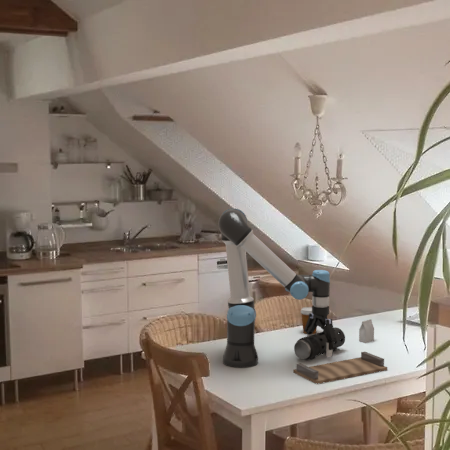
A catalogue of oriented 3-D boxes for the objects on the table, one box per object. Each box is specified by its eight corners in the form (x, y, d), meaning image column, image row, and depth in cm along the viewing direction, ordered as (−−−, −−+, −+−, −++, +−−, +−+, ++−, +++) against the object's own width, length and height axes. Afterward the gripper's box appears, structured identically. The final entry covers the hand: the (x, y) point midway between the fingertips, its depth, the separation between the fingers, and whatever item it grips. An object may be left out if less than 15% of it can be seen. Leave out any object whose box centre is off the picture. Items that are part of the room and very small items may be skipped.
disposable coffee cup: (297, 334, 339) (298, 310, 337) (302, 329, 347) (303, 306, 346) (316, 335, 335) (317, 311, 334) (321, 331, 344) (321, 307, 343)
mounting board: (317, 384, 266) (317, 373, 265) (293, 372, 280) (293, 362, 279) (387, 370, 283) (387, 360, 283) (361, 359, 297) (361, 350, 297)
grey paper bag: (373, 340, 328) (374, 320, 327) (365, 343, 323) (366, 322, 322) (367, 338, 331) (367, 318, 330) (359, 341, 326) (359, 320, 325)
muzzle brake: (345, 351, 311) (346, 328, 310) (310, 365, 290) (311, 341, 289) (327, 346, 317) (328, 325, 316) (292, 360, 296) (292, 337, 295)
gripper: (345, 310, 292) (344, 358, 294) (310, 299, 314) (309, 344, 316) (331, 312, 288) (330, 361, 291) (297, 300, 310) (296, 346, 312)
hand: (319, 352), depth 303 cm, fingers open, 13 cm apart
